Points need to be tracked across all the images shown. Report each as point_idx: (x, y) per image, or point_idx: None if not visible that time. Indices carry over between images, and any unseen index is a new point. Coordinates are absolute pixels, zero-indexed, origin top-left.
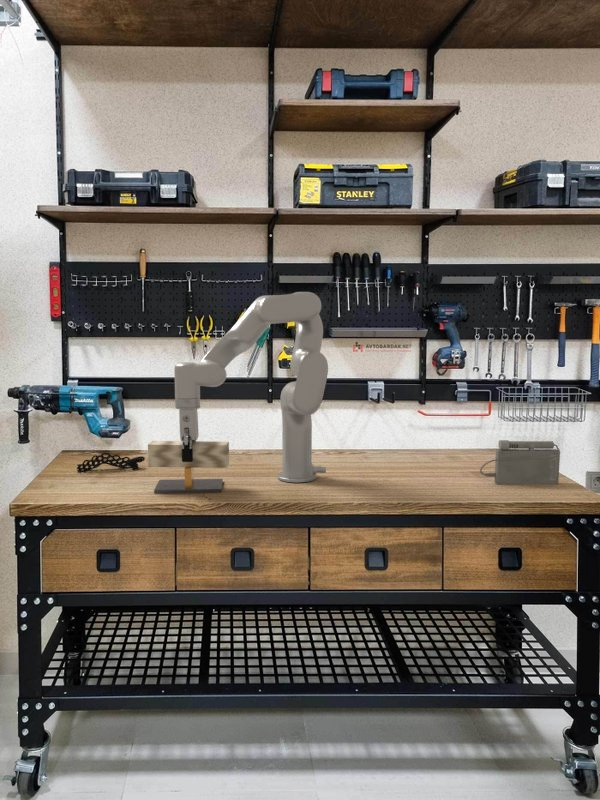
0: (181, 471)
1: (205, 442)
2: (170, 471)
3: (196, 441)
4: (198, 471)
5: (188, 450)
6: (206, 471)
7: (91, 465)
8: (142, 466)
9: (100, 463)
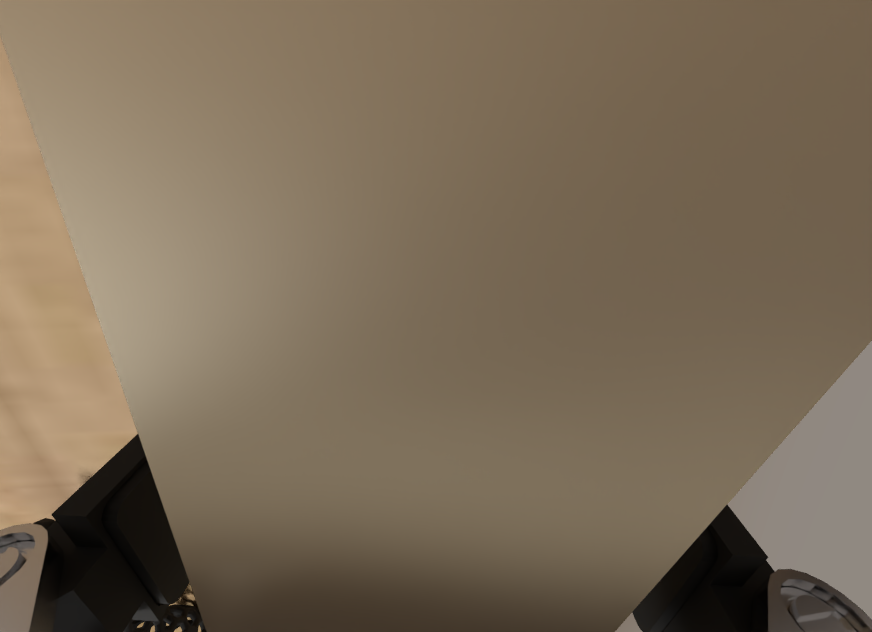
0: (83, 341)
1: (316, 358)
2: (105, 390)
3: (198, 556)
4: (41, 244)
5: (763, 577)
6: (17, 188)
7: (191, 629)
8: (62, 491)
9: (165, 619)
